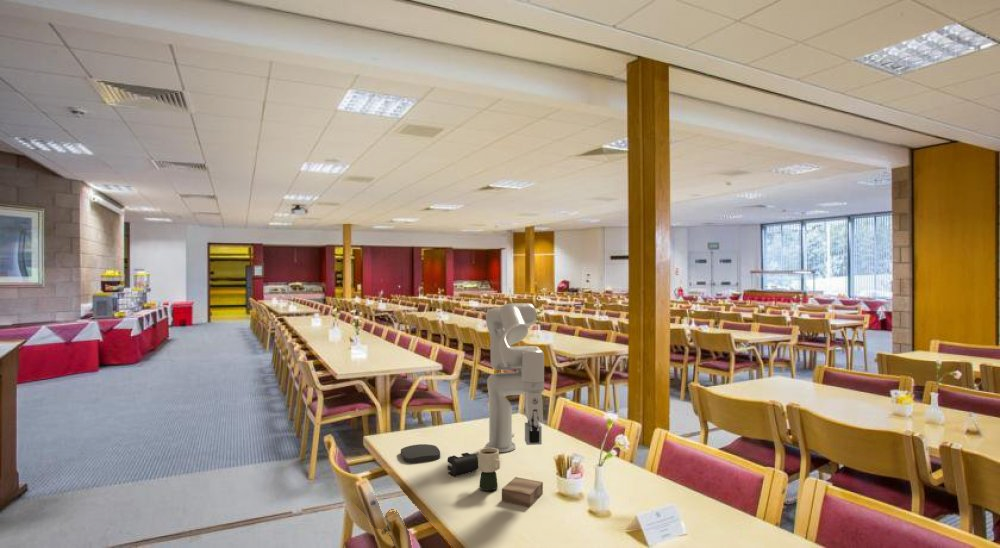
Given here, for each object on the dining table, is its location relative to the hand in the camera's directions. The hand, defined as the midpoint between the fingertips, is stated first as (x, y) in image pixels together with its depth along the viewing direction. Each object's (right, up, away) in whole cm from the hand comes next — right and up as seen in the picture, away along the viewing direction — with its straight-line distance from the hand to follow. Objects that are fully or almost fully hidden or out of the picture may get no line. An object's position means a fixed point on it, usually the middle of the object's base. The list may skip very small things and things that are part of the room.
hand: (533, 439), depth 178 cm
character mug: (-15, -18, +3) cm, 24 cm away
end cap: (-25, -18, +16) cm, 35 cm away
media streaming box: (-44, -18, +35) cm, 59 cm away
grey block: (0, -1, 0) cm, 1 cm away
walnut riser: (-4, -18, -4) cm, 19 cm away
